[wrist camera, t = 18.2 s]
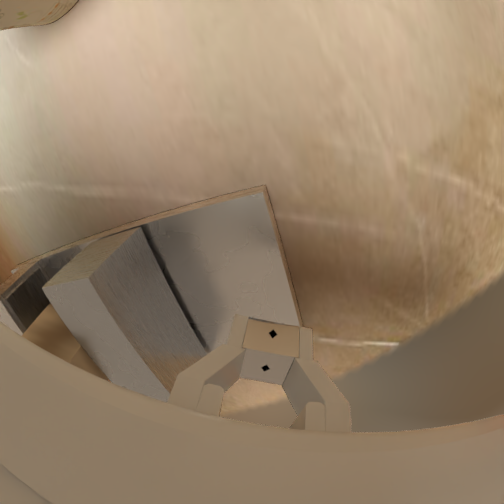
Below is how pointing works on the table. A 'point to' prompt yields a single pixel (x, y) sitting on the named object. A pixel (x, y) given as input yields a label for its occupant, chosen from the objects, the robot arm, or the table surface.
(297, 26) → the table surface
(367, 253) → the table surface
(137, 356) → the block
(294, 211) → the table surface
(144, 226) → the vise base
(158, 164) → the table surface
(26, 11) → the mug
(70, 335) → the block
